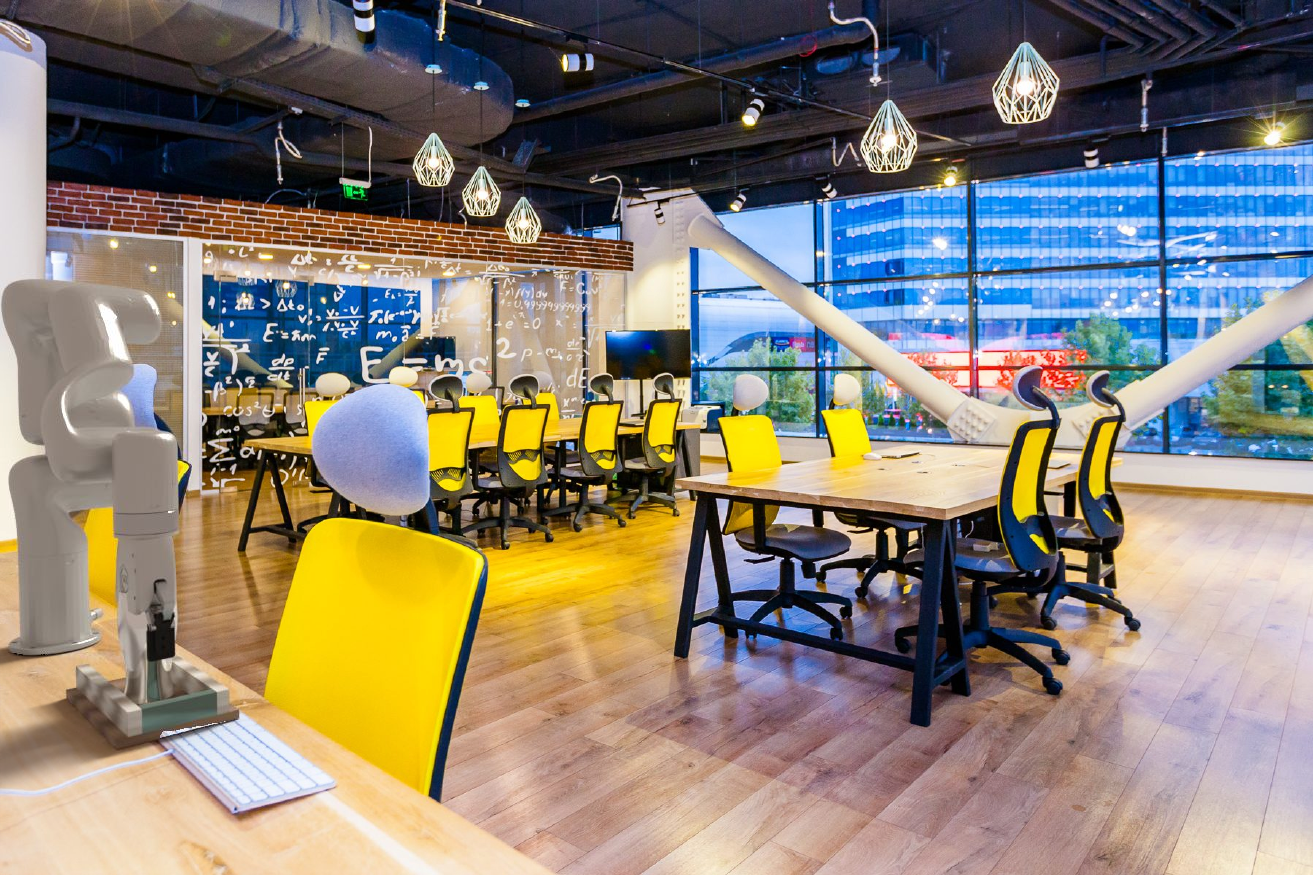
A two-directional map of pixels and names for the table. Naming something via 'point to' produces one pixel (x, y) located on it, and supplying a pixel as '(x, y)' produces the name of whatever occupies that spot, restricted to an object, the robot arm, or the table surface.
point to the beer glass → (142, 658)
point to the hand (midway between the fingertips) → (149, 650)
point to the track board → (150, 705)
